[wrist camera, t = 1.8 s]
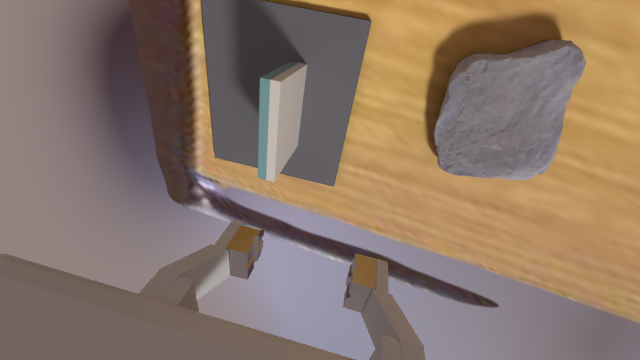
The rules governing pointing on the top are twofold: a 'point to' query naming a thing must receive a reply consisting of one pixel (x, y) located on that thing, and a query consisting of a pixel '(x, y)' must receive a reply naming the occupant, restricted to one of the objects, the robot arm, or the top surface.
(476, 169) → the stone block
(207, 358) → the robot arm
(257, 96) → the mat
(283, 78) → the tile
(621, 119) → the top surface
